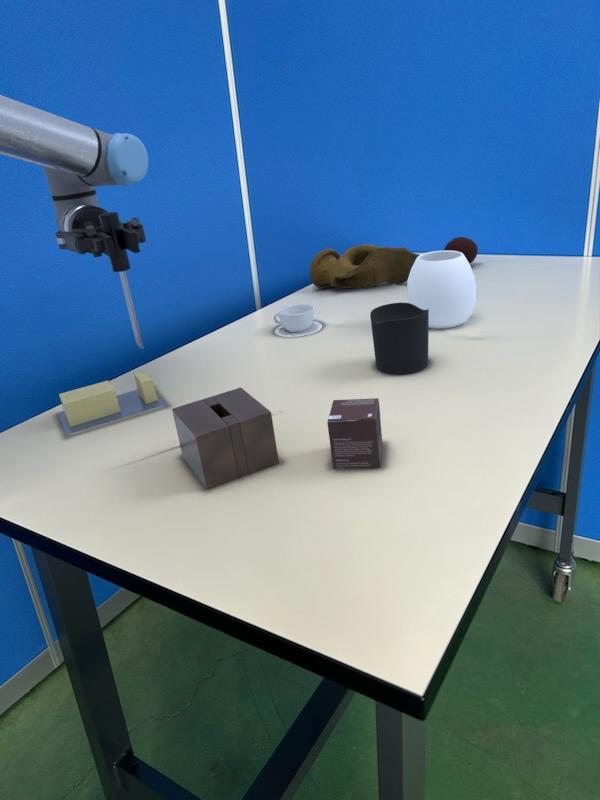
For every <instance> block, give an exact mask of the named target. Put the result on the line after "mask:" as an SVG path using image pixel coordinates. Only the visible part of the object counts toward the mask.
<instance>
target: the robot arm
mask: <svg viewBox="0 0 600 800" xmlns="http://www.w3.org/2000/svg"><path fill="white" fill-rule="evenodd" d="M0 155H2V156H6V157H11V158H13V159H18V160H21V161H23V162H27V163H28V162H29V163H32V164H35V165H39V166H42V167H43V171H44V175H45V177H46V181H47V185H48V187H49V191H50V194H51V198H52V204H53V208H54V212H55V214H56V215H55V224H56V226H57V230H58V231H56V232H54V233H55V237H56V240H57V241H56V242H57V244H58V247H59V250H68V251H69V252H74V253H76V254H79V255H85V254H91V255H93V258H100V257H102V256H103V254H104V255H105V256H107V257H108V258H109V257H110V258H114V257H117V256H116V252H115V248H114V244H113V239H112V237H111V236H109V235H107V234H105V233H103V230H102V226H101V222H100V218H99V215H100V214H104V213H110V212H109V211H108V210H107V209H105V208H102V207H100V204H99V201H98V196H97V191H96V187H104V186H105V187H107V186H108V187H110V186H122V187H126V186H128V185H131V184H133V185H134V184H136V183H139V182H140V181H142V180H143V179H144V178H145V176H146V174H147V173H148V169H149V155H148V151H147V148H146V146H145V145H144V143H143V142H142V141H141V140H140V138H138V137H137V136H136V135H133V134H131V133H122V132H115V133H114V134H112V133H107V132H105V131H102V130H99V129H96V128H93V127H89V126H87V125H84V124H81V123H78V122H76V121H73V120H71V119H68V118H66V117H65V118H64V117H62V116H59V115H57V114H54V113H51V112H48V111H46V110H43V109H40V108H37V107H34V106H32V105H29V104H27V103H24V102H21V101H18V100H15V99H13V98H10V97H7V96H4V95H1V94H0ZM119 221H120V225H121V229H122V233H123V238H124V242H125V246H126V250H128V251H130V252H132V253H134V254H138V253H140V252H141V249H140V246H139V244H143V243H146V242H147V239H146V234H145V233H146V232H145V229H144V225H143V223H142V222H141V221H140V218H139V217H132V218H130V219H127V220H126V222H123V221H121V220H119Z"/></svg>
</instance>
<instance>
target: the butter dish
mask: <svg viewBox="0 0 600 800" xmlns="http://www.w3.org/2000/svg"><path fill="white" fill-rule="evenodd" d="M156 395H157V399H158V401H155V402H152V403H148V404H146V403H145V402H144V400H143V399H142V398H141V396H140V395H139V393H138V389H135V390H131V391H128V392H124V393H121V394H116V397H117V400H118V404H119V408H120V411H121V412H118V413H115V414H112V415H108V416H105V417H102V418H98V419H95V420H92V421H89V422H85V423H82V424H79V425H75V426H72V427H70V425H69V423H68V420H67V418H66V415H65V412H64V410H62V411H58V412H57V415H58V417H59V420H60V423H61V425H62V428H63V430H64V433H65V435H66V436H68V435H72V434H75V433H78V432H82V431H85V430H88V429H91V428H94V427H98V426H101V425H105V424H107V423H111V422H114V421H118V420H121V419H125V418H128V417H131V416H134V415H137V414H140V413H144V412H147V411H150V410H154V409H157V408H160V407H163V406H166V405H167V403H166V402H165V401H164V400H163V398H162V397H161V396H160V395H159V394H158V392H156Z"/></svg>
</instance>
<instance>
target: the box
mask: <svg viewBox="0 0 600 800" xmlns="http://www.w3.org/2000/svg"><path fill="white" fill-rule="evenodd" d="M326 422H327V430H328V431H327V433H328V437H329V444H330V453H331V461H332V467H333V469H334V470H349V469H350V470H353V469H354V470H358V469H360V470H361V469H362V470H363V469H381V468H382V457H383V445H384V444H383V434H382V423H381V422H382V421H381V408H380V400H379V398H378V397H375V398H355V399H354V398H352V399H333V401H332V404H331V408H330V411H329V415H328V419H327V421H326Z"/></svg>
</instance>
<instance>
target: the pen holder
mask: <svg viewBox="0 0 600 800" xmlns="http://www.w3.org/2000/svg"><path fill="white" fill-rule="evenodd" d="M369 316H370V323H371V324H370V325H371V334H372V341H373V352H374V358H375V367H376V369H377V370H378V371H379V372H381V373H383V374H387V375H391V376H405V375H412V374H416V373H419V372H422V371H423V370H425V369H426V368H427V367H428V366H429V365H428V364H429V329H430V328H429V310H428V309H427V310H422V309H420V308H419V307H417V306H415V305H413V304H410V303H407V302H393V303H387V304H382V305H379V306H377V307H375V308H373V309H372V310H370V313H369Z"/></svg>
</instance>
